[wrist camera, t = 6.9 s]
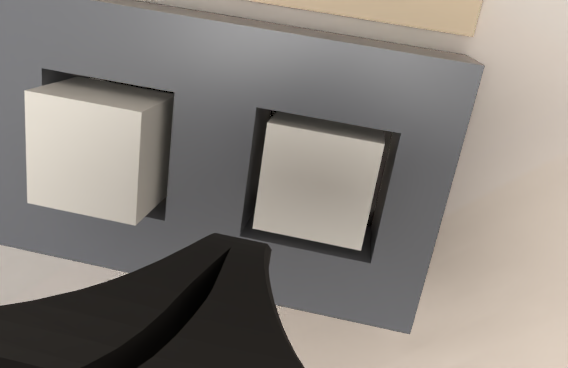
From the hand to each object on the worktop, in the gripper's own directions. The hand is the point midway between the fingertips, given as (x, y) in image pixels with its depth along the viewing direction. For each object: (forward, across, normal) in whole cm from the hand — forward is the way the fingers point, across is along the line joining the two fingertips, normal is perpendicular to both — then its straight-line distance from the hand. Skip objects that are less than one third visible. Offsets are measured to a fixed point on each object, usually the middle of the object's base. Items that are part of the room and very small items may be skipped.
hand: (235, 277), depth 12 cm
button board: (+8, +6, 0) cm, 10 cm away
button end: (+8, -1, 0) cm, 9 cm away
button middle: (+7, +6, 0) cm, 9 cm away
